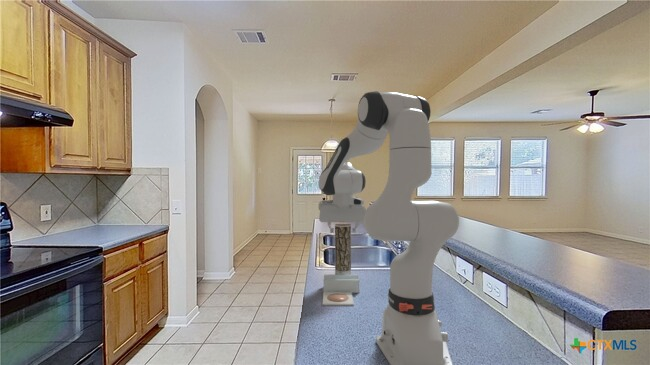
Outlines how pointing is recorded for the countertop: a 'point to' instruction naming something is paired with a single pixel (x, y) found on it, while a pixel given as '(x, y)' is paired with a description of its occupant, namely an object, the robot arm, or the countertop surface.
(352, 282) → the low walls
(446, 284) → the countertop surface
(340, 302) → the resting pad
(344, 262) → the wooden log
